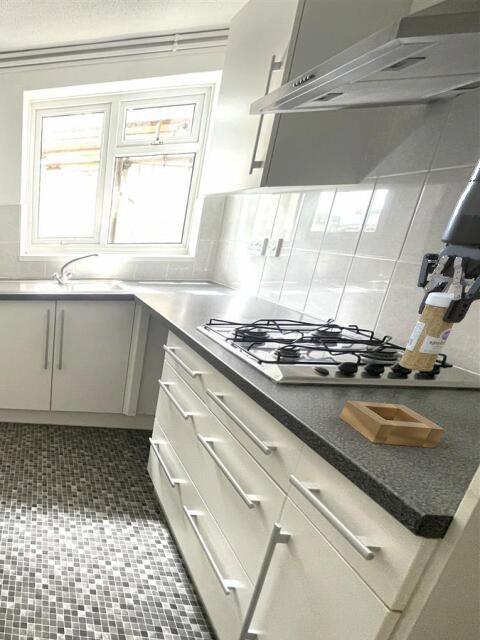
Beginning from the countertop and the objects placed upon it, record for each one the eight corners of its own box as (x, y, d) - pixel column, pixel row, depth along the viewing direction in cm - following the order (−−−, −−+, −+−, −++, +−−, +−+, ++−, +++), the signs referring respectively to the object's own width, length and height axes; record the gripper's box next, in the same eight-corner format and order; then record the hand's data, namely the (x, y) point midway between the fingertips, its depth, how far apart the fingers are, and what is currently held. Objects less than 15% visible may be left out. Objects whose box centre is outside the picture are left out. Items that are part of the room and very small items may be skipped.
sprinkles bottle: (427, 374, 73) (464, 298, 68) (393, 366, 77) (425, 293, 71) (435, 369, 75) (472, 295, 70) (402, 361, 79) (434, 290, 74)
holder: (394, 421, 85) (402, 404, 84) (434, 448, 76) (445, 429, 75) (339, 417, 87) (346, 400, 85) (372, 442, 78) (381, 424, 76)
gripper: (567, 214, 58) (503, 331, 65) (474, 211, 71) (429, 309, 78) (503, 214, 60) (447, 328, 67) (423, 211, 72) (383, 307, 79)
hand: (438, 317), depth 72 cm, fingers closed on sprinkles bottle, 4 cm apart
